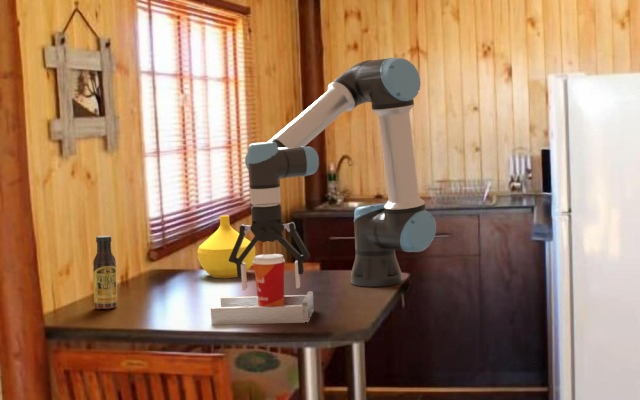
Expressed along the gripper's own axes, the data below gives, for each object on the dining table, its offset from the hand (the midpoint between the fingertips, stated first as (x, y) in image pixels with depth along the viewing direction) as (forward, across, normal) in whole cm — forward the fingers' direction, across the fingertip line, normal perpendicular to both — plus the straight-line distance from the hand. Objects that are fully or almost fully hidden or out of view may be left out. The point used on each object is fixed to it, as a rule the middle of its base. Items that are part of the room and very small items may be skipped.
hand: (271, 288), depth 237 cm
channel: (+7, +2, 0) cm, 8 cm away
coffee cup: (+7, 0, 0) cm, 7 cm away
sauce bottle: (+7, +48, -16) cm, 51 cm away
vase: (+8, +23, -61) cm, 65 cm away
